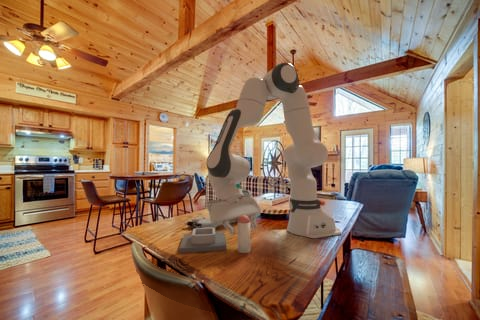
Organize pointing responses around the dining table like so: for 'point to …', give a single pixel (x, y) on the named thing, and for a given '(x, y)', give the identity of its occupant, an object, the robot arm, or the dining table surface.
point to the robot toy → (200, 223)
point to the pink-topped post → (243, 234)
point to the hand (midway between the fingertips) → (244, 230)
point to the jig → (203, 241)
